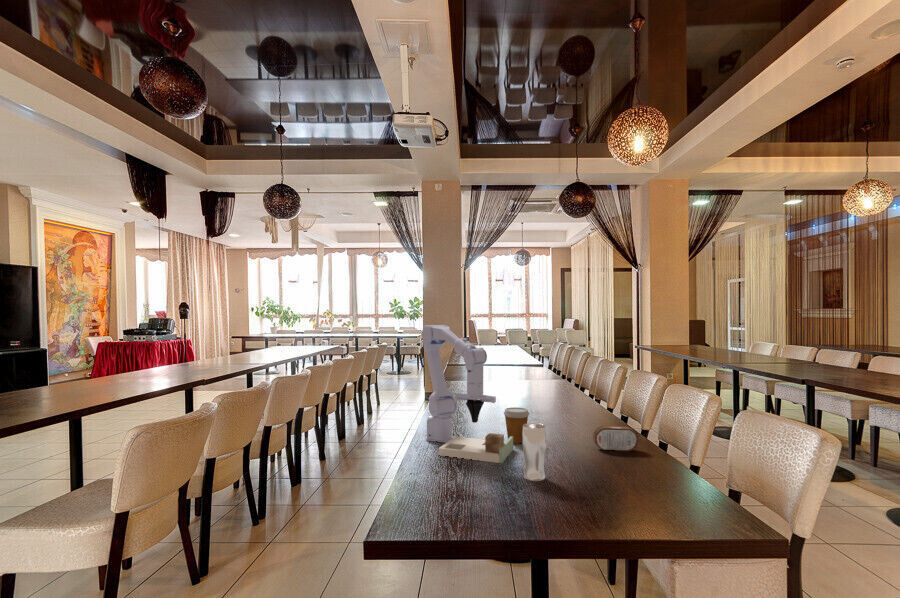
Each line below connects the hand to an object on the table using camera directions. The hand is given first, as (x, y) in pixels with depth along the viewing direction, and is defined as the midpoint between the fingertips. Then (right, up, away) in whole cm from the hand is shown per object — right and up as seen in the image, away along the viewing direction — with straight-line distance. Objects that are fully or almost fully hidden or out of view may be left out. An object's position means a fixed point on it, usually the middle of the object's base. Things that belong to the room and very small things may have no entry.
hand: (474, 421), depth 157 cm
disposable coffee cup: (+16, -11, +12) cm, 23 cm away
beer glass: (+16, -10, -25) cm, 32 cm away
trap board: (+1, -10, -1) cm, 10 cm away
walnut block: (+6, -8, -8) cm, 12 cm away
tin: (+50, -11, +1) cm, 51 cm away
